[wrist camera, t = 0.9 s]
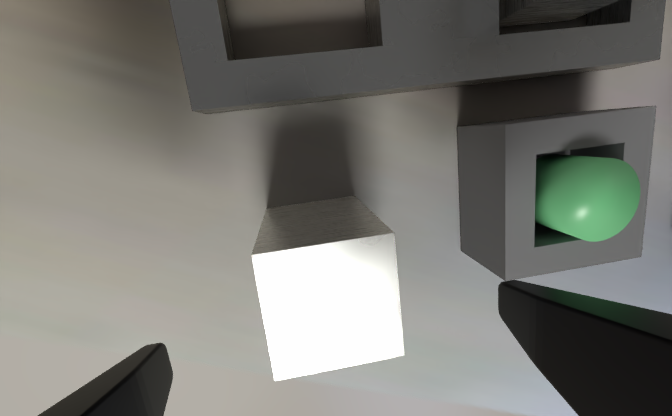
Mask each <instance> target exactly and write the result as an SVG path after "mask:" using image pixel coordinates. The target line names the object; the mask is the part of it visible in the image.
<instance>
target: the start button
mask: <svg viewBox="0 0 672 416" xmlns="http://www.w3.org/2000/svg"><path fill="white" fill-rule="evenodd" d="M639 200H640V182H639V179H638V176H637V174H636V172H635V170H634V169H633V168H632V167H631V166H630V165H629V164H628V163H626V162H624V161H622V160H619V159H615V158H602V157H589V156H575V155H562V154H549V155H545V156H542V157H540V158H538V159H536V188H535V223H538V224H541V225H543V226H546V227H549V228H552V229H555V230H557V231H560V232H563V233H566V234H568V235H571V236H574V237H577V238H580V239H582V240H585V241H590V242H597V241H603V240H606V239H609V238H611V237H613V236H615V235H616V234H618V233H619V232H620V231H621V230H623V229H624V228H625V227H626V226H627V224H628V223H629V222H630V221H631V219H632V218H633V216H634V214H635V212H636V210H637V207H638V204H639Z"/></svg>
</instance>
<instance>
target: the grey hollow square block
mask: <svg viewBox="0 0 672 416" xmlns="http://www.w3.org/2000/svg"><path fill="white" fill-rule="evenodd" d="M655 115H656V106H646V107H633V108H621V109H608V110H595V111H582V112H572V113H564V114H556V115H548V116H540V117H532V118H524V119H516V120H508V121H500V122H492V123H484V124H476V125H468V126H460V127H457V136H458V166H459V197H460V228H461V251H462V252H464V253H465V254H466V255H468V256H469V257H471V258H472V259H474V260H475V261H477V262H478V263H480V264H481V265H483V266H484V267H486V268H487V269H489V270H490V271H491V272H493V273H494V274H496V275H497V276H499V277H500V278H502V279H503V280H505V281H509V280H514V279H520V278H525V277H531V276H537V275H542V274H548V273H553V272H559V271H565V270H570V269H576V268H581V267H587V266H593V265H598V264H604V263H610V262H615V261H621V260H626V259H632V258H638V257H641V255H642V245H643V235H644V225H645V215H646V205H647V195H648V185H649V175H650V165H651V155H652V145H653V135H654V125H655ZM549 154H562V155H575V156H589V157H602V158H615V159H619V160H622V161H624V162H626V163H628V164H629V165H630V166H631V167H632V168H633V169H634V170H635V172H636V174H637V176H638V179H639V182H640V200H639V204H638V207H637V210H636V212H635V214H634V216H633V218H632V219H631V221H630V222H629V223H628V224H627V226H626V227H625V228H624V229H623V230H621V231H620V232H619V233H618V234H616V235H615V236H613V237H611V238H609V239H606V240H603V241H597V242H590V241H585V240H582V239H580V238H577V237H574V236H571V235H568V234H566V233H563V232H560V231H557V230H555V229H552V228H549V227H546V226H543V225H541V224H538V223H535V188H536V159H538V158H540V157H542V156H545V155H549Z"/></svg>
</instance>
